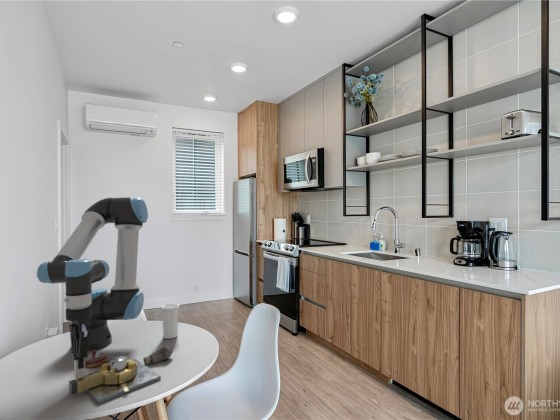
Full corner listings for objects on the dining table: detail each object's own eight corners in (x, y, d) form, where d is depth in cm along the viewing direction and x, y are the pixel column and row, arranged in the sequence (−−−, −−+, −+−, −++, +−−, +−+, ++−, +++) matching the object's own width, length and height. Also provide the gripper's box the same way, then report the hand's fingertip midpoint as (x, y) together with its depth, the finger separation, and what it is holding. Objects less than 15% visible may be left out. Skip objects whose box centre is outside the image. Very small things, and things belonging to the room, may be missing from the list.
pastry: (87, 361, 131) (86, 348, 131) (108, 357, 133) (108, 345, 133) (83, 370, 123) (83, 356, 123) (106, 366, 126) (106, 353, 126)
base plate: (76, 381, 115) (76, 360, 115) (135, 361, 129) (134, 343, 129) (99, 406, 100) (99, 382, 100) (162, 380, 115) (162, 359, 115)
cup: (176, 340, 150) (176, 308, 150) (158, 340, 150) (157, 308, 150) (181, 333, 158) (181, 303, 158) (164, 333, 158) (164, 303, 158)
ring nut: (128, 365, 123) (128, 353, 123) (141, 375, 115) (141, 363, 115) (65, 387, 108) (64, 374, 108) (76, 400, 101) (75, 386, 101)
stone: (143, 369, 125) (157, 357, 123) (139, 356, 128) (152, 343, 126) (163, 366, 133) (177, 354, 132) (159, 353, 136) (172, 341, 134)
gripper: (60, 305, 114) (60, 374, 114) (72, 312, 105) (73, 388, 105) (84, 300, 119) (85, 367, 119) (98, 307, 111) (99, 379, 111)
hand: (79, 376), depth 112 cm, fingers closed
